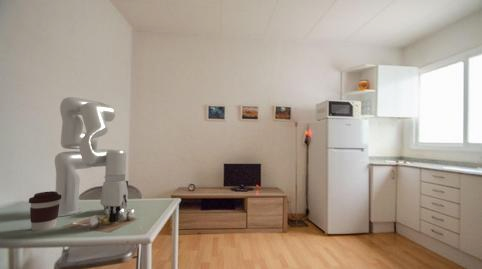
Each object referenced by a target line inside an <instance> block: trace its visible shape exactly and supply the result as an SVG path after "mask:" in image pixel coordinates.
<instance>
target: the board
mask: <svg viewBox="0 0 482 269" xmlns="http://www.w3.org/2000/svg"><path fill="white" fill-rule="evenodd" d="M98 215H99V228H97V229H89V225H90V217H91V216H89V217H86V218H82V219H80V220H77V221H75V222H71V223H70V224H69V223H68V224H66V225H63V226H62V228H71V229H78V230H85V231H94V232H100V233H101V232H102V233H108V234H109V233H110V234H111V233H112V232H114V231H117V230H118V229H121V228H123V227H125V226H127V225H130V224H131V223H133V222H136V221H138V220H139V218H135V217H134V220H132V221H126V216H124V219H122V220H118V221H116V222H114V223H110V224H107V225H101V224H100V218H101V217H104V216H106V215H104V214H98Z"/></svg>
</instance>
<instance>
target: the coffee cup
mask: <svg viewBox="0 0 482 269" xmlns="http://www.w3.org/2000/svg"><path fill="white" fill-rule="evenodd" d="M55 191H56V190H55ZM55 191H52V190H51V191H42V192H37V193H35V194H34V195H33V197H29V198H28V203H29V204H30V208H29V213H30V214H29V216H30V223H31V231H43V230H48V229H51V228H54V227H56V226H57V219H58V218H59V217H58V212H59V200H60V199H61V196H62V195H60V194H58V193H57V192H55Z"/></svg>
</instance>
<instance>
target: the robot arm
mask: <svg viewBox="0 0 482 269" xmlns="http://www.w3.org/2000/svg"><path fill="white" fill-rule="evenodd" d="M59 110H60V111H59V112H60V116H61V122H62V123H61V124H62V125H61V135H60V146H61V148H64V149H68V150H71V151H62V152H59V153H57V154H56V155H55V156H54V166H55V192H57V193H58V194H60V195H62V196H61V199H60V200H59V212H58V217H57V218H59V217H67V216H73V215H76V214H79V213H81V212H82V211H83V208H82V207H79V204H80V202H79V200H80V183H81V182H80V180H81V179H80V175H79V173H77V171H76V170H83V169H84V170H85V169H91V168H97V167H99V168H101V167H105V171H104V172H105V173H104V174H105V175H104V182H103V183H102V188H101V191H100V192H101V193H100V205H101V206H103V208H104V207H105V208H107V209H108V212H109V213H110V217H109V222H110V223H114V222H116V221H118V220H119V211H120V210H121V209H123V208H126V203H127V204H128V201H127V184H126V181H127V180H126V166H127V165H126V163H127V162H126V161H127V152H126V151H125V150H124V149H123V150H122V149H98V142H99V141H98V138H100V137H103V136H105V135H106V134H107V133H108V132H109V128H108V125H107V123H108V122H109V123H110V122H112V121H114V119H115V117H116V112H115V110H114V108H113V107H112V106H111V105H108V104H106V103H103V102H100V101H98V100H97V101H96V100H91V99H85V98H80V97H71V96H69V97H65V98H63V99H62V100H61V102H60V106H59ZM80 116H82V119H81V117H80ZM83 127H85V128H83ZM83 129H85V131H83ZM72 150H74V151H72ZM75 150H76V151H75ZM77 150H79V151H77Z"/></svg>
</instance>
